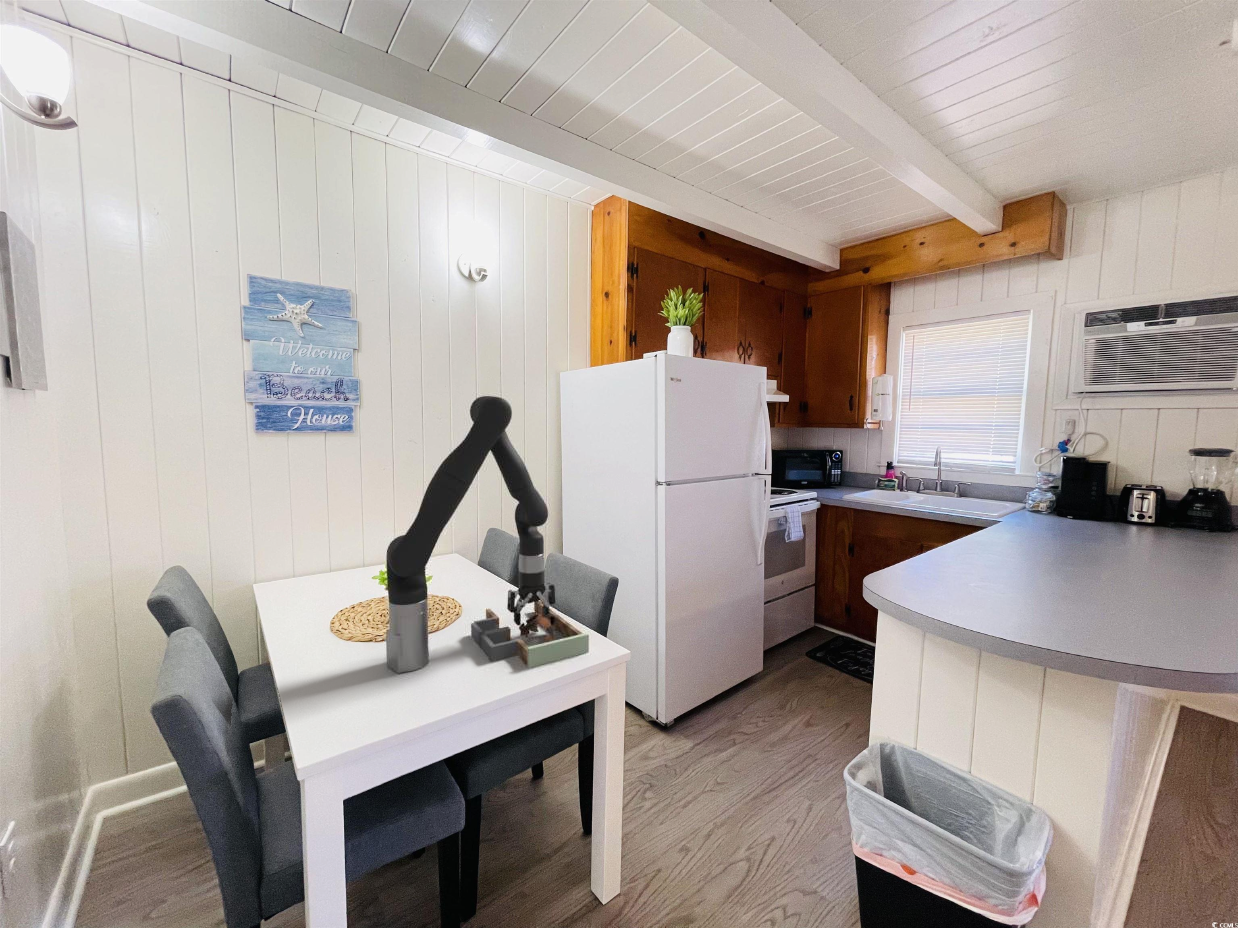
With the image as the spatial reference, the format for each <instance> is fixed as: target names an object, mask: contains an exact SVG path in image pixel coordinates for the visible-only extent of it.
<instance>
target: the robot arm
mask: <svg viewBox="0 0 1238 928" xmlns="http://www.w3.org/2000/svg"><path fill="white" fill-rule="evenodd" d="M469 416H470V419H471V421H472V423H473V424H472V426H471V427H470V429H469V431H468V433H467V435H466V436H465V437H464V439H463V440H462V441H461V442H460V444H459V445H458V446H457V447H455V448H454V449H453V450H452V451H451V452H450V453H449V454H448V455H447V456H446V458H445V459H443V461H442V462H441V463H440V465H439V467H438V468H437V470H436V471H435V472H434V474H433V476H432V478H431V480H430V481H429V483H428V485H427V488H426V490H425V492H424V496H423V498H422V500H421V504H420V506H419V509H418V512H417V515H416V517H415V519H414V521H413V522H412V524H411V525H410V526H409V528H408V529H407V531H406V533H405V534H403V535H399V536H397V537H395V538H394V539H393V540H392V541H390V543H389V545H388V547H387V549H386V556H385V557H386V579H387V580H386V583H387V584H386V586H387V594H388V627H389V628H388V629H386V631H385V646H386V648H385V649H386V651H385V652H386V667H387V668H389V669H391V670H392V671H394V672H395V673H396V674H401V673H405V672H406V673H407V672H411V671H413V672H414V671H417V670H420V669H422V668H423V667H426V665H428V663H429V661H430V659H429V657H430V651H429V650H430V649H429V610H428V609H429V607H428V606H429V604H428V603H429V602H428V600H429V599H428V598H429V597H428V584H427V577H426V567H427V564H428V563H429V560H430V558H431V555H432V554H433V551H434V549H435V547H436V544H437V543H438V541H439V538H440V537H441V534H442V533H443V531H444V528H445V527H446V526H447V524H448V523H449V522H450V520H451V518H452V516H453V515H454V514H455V512H456V510H457V509H458V507H459V505H460V504H461V503H462V501H463V499H464V498H465V496H466V494H467V492H468V491H469V489H470V487H471V485H472V483H473V482H474V479H475V477H477V474H478V473H479V471H480V469H481V467H482V466H483V464H484V462H485V460H486V458H487V456H488V455H489V453H490V452H491V454H492V455H493V458H494V460H495V462H496V464H497V466H498V467H497V468H499V471H500V473H501V474H500V475H502V478H503V480H504V483H505V485H506V488H507V490H508V492H509V494H510V496H511V497H512V499H514V500H516V501H517V502H518V503H517V505H516V507H515V510H514V521H515V526H516V531H517V535H518V538H519V543H518V544H519V556H518V567H517V568H518V588H517V590H512V589H509V590H507V591H508V592H507V605H506V606H507V608H506V610H508V612H510V613H512V614H513V622H514V623H515V624H516V625H517V626H518V627H520V625H521V624H522V622H521V621H522V620H521V618H522V617H521V614H522V613H521V611H522V610H523V608H525V606H526V605H527V604H532V603H534V602H538V601H540V602H541V603H543V605H544V606H542V617H544V616H546V615H547V614H549V609H550V607H551V605H555V604H556V591H555V590H556V589H555V584H552V583H551V582H548V583H547V584H545V576H546V574H545V573H546V569H545V568H546V566H545V563H546V562H545V551H544V550H545V549H544V548H545V544H544V540H545V539H544V536H543V534H542V533H541V532H539V530H538V527H542V526H543V525H544V524H546V522H547V521H548V518H549V510H548V506H547V504H546V502H545V501H544V499H543V497H542V496H541V494H540V492H539V491H538V490H537V489H536V487H535V486H534V483H533V481H532V478H531V475H530V473H529V471H528V468H527V466H526V464H525V463H524V461H523V459H522V458H521V456H520V454H519V453H518V451H517V450H516V449H515V446H513V444H512V442H511V440H510V438H509V436H508V434H507V431H506V429H507V428H508V427H509V424H510V423H511V420H512V416H513V411H512V406H511V404H510V403H509V402H508V401H507V400H506V399H505V398H502V397H499V396H494V395H493V396H492V395H481V396H479V397H477V398H476V399H475V400H473V402H472V403H471V405H470V409H469ZM545 592H547V599H546V598H545V596H544V593H545ZM518 596H519V597H518ZM517 597H518V599H517ZM516 599H517V601H516Z"/></svg>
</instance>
